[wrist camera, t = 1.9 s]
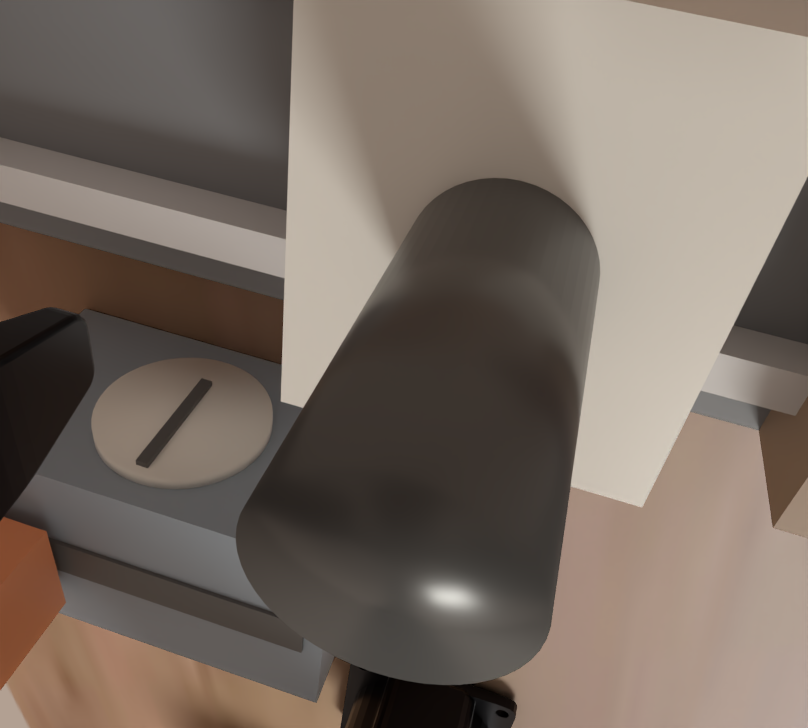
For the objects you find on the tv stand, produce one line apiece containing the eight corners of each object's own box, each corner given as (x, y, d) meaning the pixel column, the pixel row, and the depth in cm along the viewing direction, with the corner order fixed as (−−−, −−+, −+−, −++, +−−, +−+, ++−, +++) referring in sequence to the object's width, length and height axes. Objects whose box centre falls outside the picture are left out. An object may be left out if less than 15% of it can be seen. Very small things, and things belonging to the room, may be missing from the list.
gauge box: (382, 534, 25) (315, 706, 20) (109, 448, 26) (-13, 591, 21) (407, 385, 21) (331, 557, 16) (82, 293, 22) (-76, 427, 17)
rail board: (823, 421, 18) (856, 552, 15) (-119, 168, 21) (-252, 230, 18) (1133, -48, 12) (1304, 8, 8) (-273, -298, 15) (-516, -323, 12)
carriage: (645, 404, 16) (628, 874, 9) (333, 318, 17) (99, 683, 10) (828, -4, 11) (1108, 346, 4) (369, -93, 12) (-60, 61, 5)
